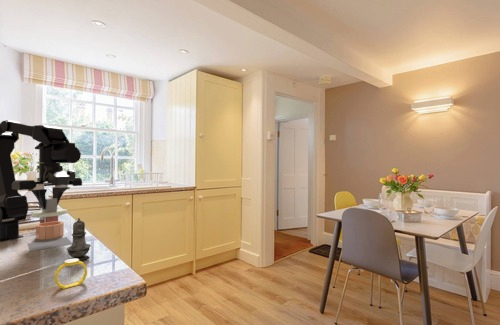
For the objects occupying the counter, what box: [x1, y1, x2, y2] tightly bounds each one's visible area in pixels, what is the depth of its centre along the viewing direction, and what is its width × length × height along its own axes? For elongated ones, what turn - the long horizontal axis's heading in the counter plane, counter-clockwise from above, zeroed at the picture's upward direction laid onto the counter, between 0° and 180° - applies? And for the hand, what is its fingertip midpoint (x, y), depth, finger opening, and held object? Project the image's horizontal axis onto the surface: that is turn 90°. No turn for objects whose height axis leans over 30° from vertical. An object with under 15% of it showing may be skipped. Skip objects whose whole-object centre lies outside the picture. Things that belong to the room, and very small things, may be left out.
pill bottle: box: [39, 207, 59, 224], centre depth 110 cm, size 6×6×11 cm
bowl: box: [35, 220, 65, 241], centre depth 97 cm, size 8×8×5 cm
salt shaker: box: [66, 217, 92, 263], centre depth 75 cm, size 6×6×12 cm
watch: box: [54, 258, 88, 290], centre depth 59 cm, size 6×3×6 cm, turn 130°
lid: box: [30, 197, 69, 218], centre depth 89 cm, size 10×10×5 cm
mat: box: [27, 236, 73, 253], centre depth 88 cm, size 11×11×1 cm
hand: (49, 208), depth 89 cm, fingers closed on lid, 3 cm apart
